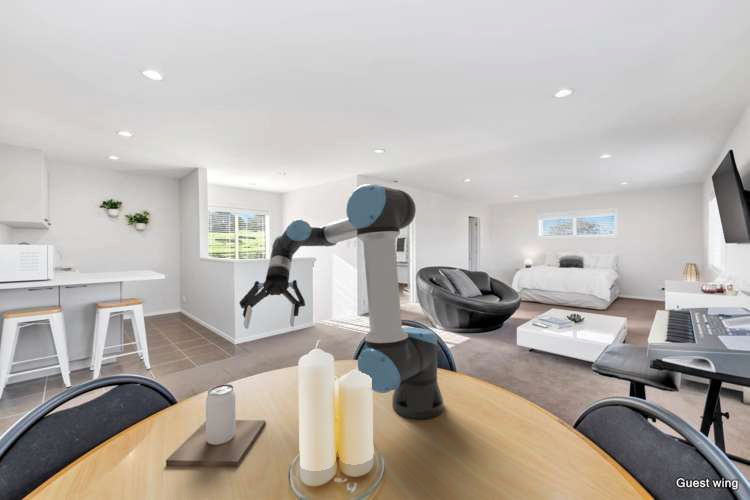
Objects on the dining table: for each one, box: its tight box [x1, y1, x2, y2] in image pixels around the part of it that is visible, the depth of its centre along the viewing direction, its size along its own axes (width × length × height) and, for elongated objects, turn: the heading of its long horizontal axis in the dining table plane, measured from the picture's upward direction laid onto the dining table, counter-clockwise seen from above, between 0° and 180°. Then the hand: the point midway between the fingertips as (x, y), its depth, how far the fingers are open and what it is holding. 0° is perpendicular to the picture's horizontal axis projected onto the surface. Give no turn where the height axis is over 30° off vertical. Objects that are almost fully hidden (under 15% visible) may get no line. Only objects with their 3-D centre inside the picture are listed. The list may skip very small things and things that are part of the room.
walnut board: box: [165, 419, 266, 468], centre depth 77 cm, size 16×16×1 cm
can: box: [205, 383, 237, 445], centre depth 77 cm, size 6×6×12 cm
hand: (268, 325), depth 95 cm, fingers open, 13 cm apart
